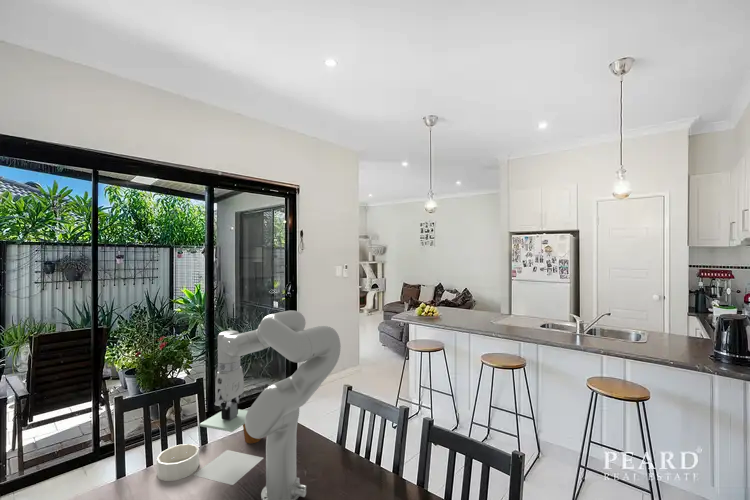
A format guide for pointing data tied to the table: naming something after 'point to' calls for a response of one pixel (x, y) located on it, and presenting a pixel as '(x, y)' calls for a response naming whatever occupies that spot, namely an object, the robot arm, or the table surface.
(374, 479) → the table surface
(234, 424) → the lid
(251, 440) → the disposable coffee cup
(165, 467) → the bowl
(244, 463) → the mat
